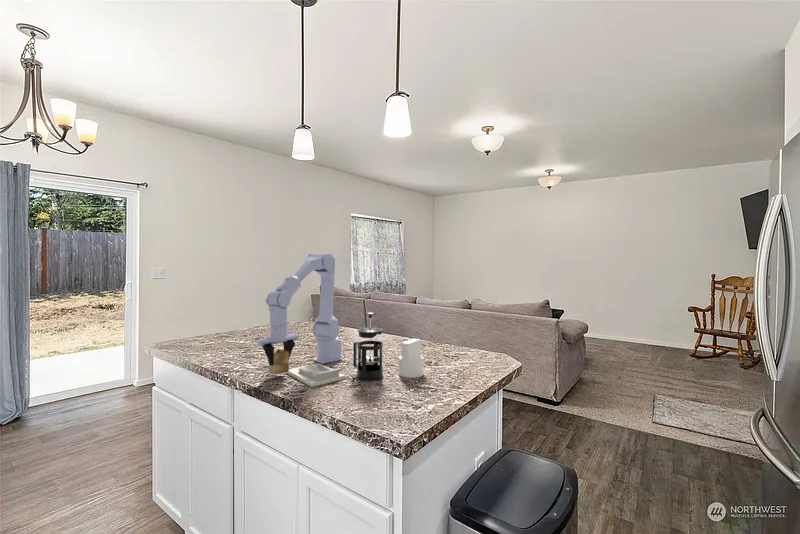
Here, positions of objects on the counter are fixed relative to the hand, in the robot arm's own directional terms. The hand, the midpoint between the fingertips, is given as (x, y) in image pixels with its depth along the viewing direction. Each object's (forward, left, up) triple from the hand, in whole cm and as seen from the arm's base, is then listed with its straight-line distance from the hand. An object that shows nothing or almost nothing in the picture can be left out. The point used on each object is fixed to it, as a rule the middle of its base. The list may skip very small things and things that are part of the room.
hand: (278, 363), depth 131 cm
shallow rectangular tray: (-10, +7, -5) cm, 13 cm away
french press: (-24, +20, -5) cm, 32 cm away
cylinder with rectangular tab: (-38, +27, -5) cm, 47 cm away
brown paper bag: (0, 0, -3) cm, 3 cm away
